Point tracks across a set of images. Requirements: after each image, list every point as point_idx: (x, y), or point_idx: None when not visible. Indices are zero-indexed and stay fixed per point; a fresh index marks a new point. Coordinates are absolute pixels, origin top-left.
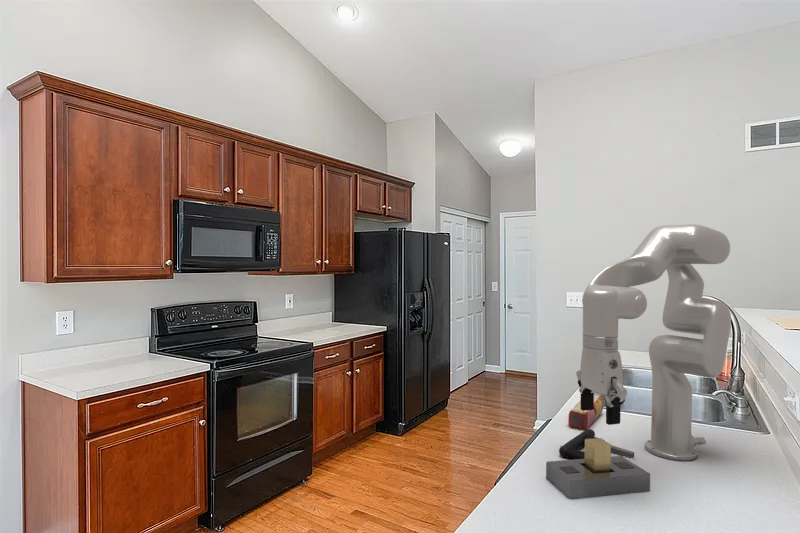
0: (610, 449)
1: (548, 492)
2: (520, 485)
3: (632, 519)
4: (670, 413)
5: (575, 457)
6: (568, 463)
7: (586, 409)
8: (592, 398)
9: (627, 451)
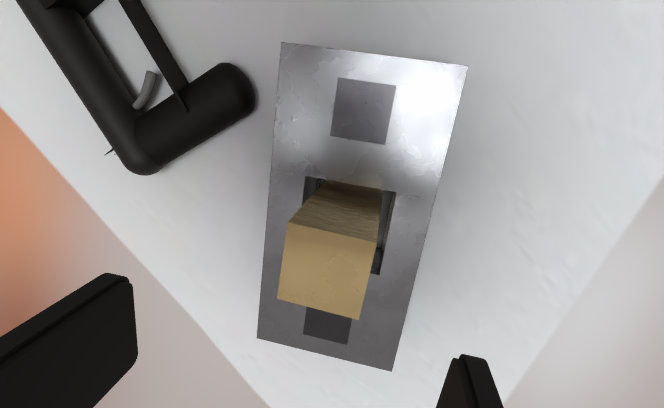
0: (377, 234)
1: None
2: (290, 380)
3: (550, 272)
4: None
5: (186, 150)
6: None
7: (133, 338)
8: (36, 360)
9: None
